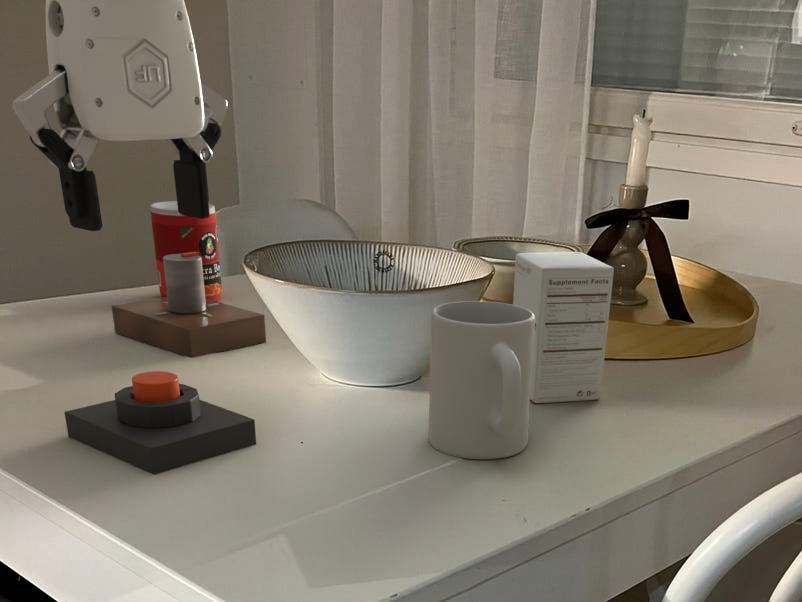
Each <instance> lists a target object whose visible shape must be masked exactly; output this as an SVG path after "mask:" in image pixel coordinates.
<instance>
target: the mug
mask: <svg viewBox="0 0 802 602" xmlns="http://www.w3.org/2000/svg"><path fill="white" fill-rule="evenodd" d="M534 328H535V317H534V314H533V313H532V312H531V311H530V310H528V309H526V308H523V307H520V306H516V305H513V304H511V303H505V302H498V301H487V300H485V301H484V300H463V301H454V302H453V301H452V302H447V303H442V304H439V305H437V306H435V307H434V308H433V309H432V310H431V314H430V350H429V351H430V353H429V354H430V355H429V405H428V406H429V407H428V430H427V434H428V441H429V444H430V446H431V447H432V448H434V449H435V450H436V451H439V452H440V453H443V454H446V455H448V456H451V457H457V458H461V459H466V460H467V459H468V460H499V459H505V458H509V457H512V456H516V455H518V454H520V453H522V452H523V451H524V450H525V449H526V447H527V444H528V440H529V420H530V418H529V417H530V402H531V401H530V400H531V399H530V388H531V373H532V358H533V343H534Z"/></svg>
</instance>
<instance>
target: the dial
mask: <svg viewBox="0 0 802 602" xmlns="http://www.w3.org/2000/svg"><path fill="white" fill-rule="evenodd" d="M198 255H199V253H198V252H190V253H183V254H171V255H166V256H164V257H163V262H164V271H165V280H166V289H167V298H168V307H169V311H171V312H174V313H182V314H191V313H199V312H203V311H205V310H206V300H205V289H204V278H203V267H202V258H201V256H198Z"/></svg>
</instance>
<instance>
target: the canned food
mask: <svg viewBox="0 0 802 602" xmlns="http://www.w3.org/2000/svg"><path fill="white" fill-rule="evenodd" d="M150 218H151V228H152V237H153V244H154V246H153V247H154V253H155V263H156V264H155V265H156V271H157V272H156V273H157V279H158V289H159V293H160V296H161V297H167V289H166V280H165V271H164V262H163V257H164V256H166V255H171V254H183V253H190V252H198V253H199V255H198V256H201V258H202V267H203V278H204V289H205V299H209V300H212V301H216V302H218V301H219V300H220V299H221V297H222V292H223V290H222V289H223V288H222V276H221V275H222V274H221V264H220V263H221V262H220V249H219V248H220V247H219V237H218V236H219V235H218V223H217V213H216V209H215V205H213V204H212V203H209V218H204V219H200V218H195V217H190V216H184V215H181V214H180V213H179V212H178V206H177V200H170V201H169V200H168V201H159V202H153V203H152V204H150Z"/></svg>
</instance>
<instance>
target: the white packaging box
mask: <svg viewBox="0 0 802 602" xmlns="http://www.w3.org/2000/svg"><path fill="white" fill-rule="evenodd" d="M514 262H515V264H514V278H513V279H514V282H513V284H514V285H513V296H512V305H516V306H520V307H523V308H526V309H528V310H530V311H531V312H532V313H533V314H534V317H535V328H534V343H533V358H532V373H531V388H530V400H531V401H532V403H534V404H545V403H547V404H549V403H565V402H583V401H595V400H599V399H601V395H602V384H603V376H604V366H605V356H606V348H607V347H606V346H607V339H608V338H607V336H608V328H609V318H610V310H611V302H612V301H611V300H612V290H613V282H614V272H615V271H614V270H615V268H614V266H611V265H609V264H606V263H604V262H602V261H601V260H598V259H596V258H595V257H592V256H590V255H588V254H586V253H584V252H582V251H581V252H580V251H553V252H552V251H551V252H550V251H547V252H519V253H516V254H515V261H514Z"/></svg>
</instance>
